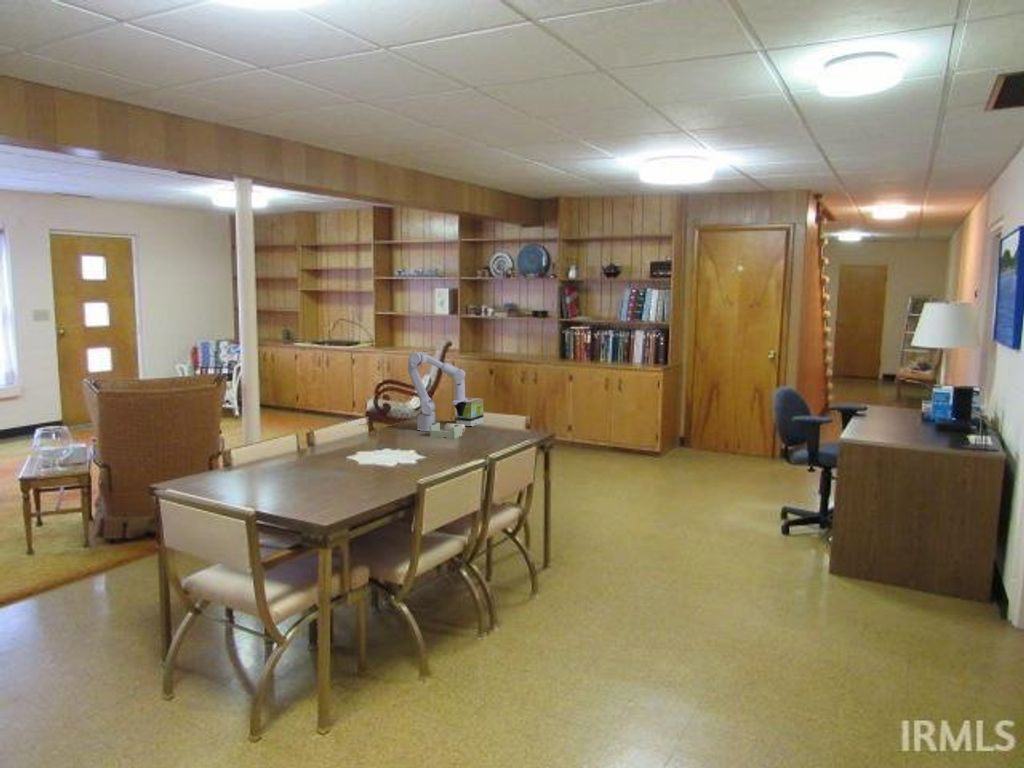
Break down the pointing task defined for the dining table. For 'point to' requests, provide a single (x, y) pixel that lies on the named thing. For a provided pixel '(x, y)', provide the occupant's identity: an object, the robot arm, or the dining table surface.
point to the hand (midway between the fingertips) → (460, 416)
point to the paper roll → (449, 426)
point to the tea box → (472, 412)
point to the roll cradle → (448, 434)
